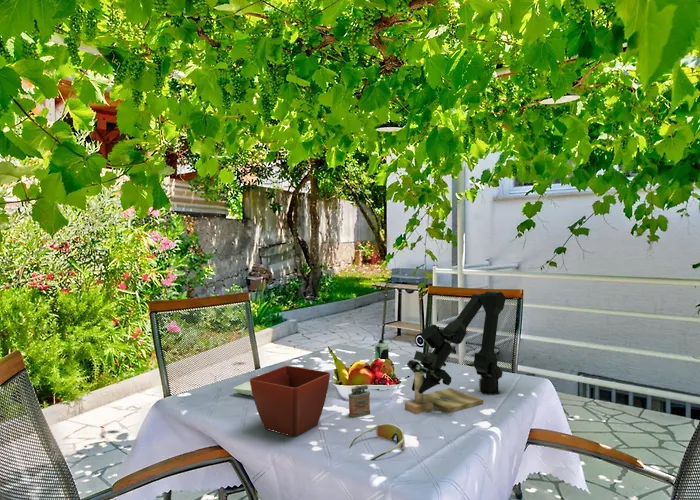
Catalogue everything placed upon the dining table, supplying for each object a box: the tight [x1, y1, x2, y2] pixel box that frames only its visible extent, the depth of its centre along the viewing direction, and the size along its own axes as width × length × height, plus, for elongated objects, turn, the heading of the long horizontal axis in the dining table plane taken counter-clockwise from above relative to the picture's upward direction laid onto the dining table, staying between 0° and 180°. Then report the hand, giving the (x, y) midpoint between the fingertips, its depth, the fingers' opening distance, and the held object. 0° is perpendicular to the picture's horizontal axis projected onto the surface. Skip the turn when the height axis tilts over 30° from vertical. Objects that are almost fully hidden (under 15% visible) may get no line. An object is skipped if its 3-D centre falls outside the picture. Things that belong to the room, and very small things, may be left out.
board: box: [423, 387, 484, 414], centre depth 179 cm, size 17×17×2 cm
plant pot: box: [249, 365, 331, 437], centre depth 156 cm, size 19×19×17 cm
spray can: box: [374, 338, 390, 361], centre depth 196 cm, size 6×6×20 cm
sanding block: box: [404, 372, 434, 415], centre depth 171 cm, size 8×6×13 cm
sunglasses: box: [347, 422, 406, 461], centre depth 140 cm, size 14×15×5 cm
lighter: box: [347, 384, 371, 418], centre depth 167 cm, size 8×3×10 cm, turn 117°
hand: (415, 391), depth 170 cm, fingers open, 3 cm apart
